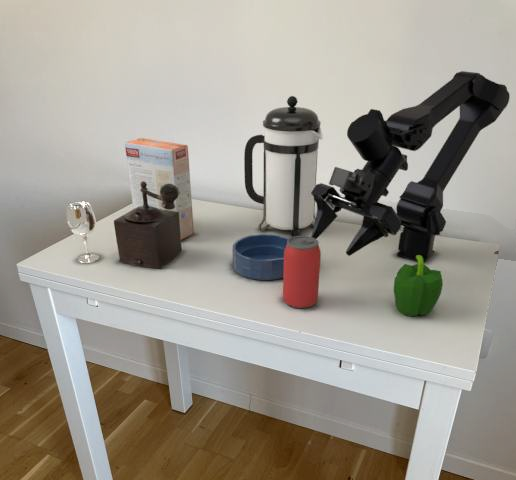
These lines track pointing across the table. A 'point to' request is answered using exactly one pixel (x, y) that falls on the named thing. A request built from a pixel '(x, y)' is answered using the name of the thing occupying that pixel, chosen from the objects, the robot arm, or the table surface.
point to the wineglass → (82, 225)
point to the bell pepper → (417, 288)
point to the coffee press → (286, 167)
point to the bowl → (260, 256)
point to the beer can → (301, 271)
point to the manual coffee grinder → (150, 231)
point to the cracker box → (161, 176)
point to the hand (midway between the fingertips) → (329, 246)
